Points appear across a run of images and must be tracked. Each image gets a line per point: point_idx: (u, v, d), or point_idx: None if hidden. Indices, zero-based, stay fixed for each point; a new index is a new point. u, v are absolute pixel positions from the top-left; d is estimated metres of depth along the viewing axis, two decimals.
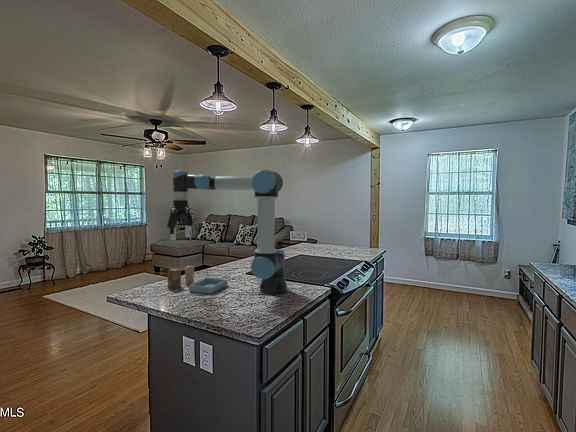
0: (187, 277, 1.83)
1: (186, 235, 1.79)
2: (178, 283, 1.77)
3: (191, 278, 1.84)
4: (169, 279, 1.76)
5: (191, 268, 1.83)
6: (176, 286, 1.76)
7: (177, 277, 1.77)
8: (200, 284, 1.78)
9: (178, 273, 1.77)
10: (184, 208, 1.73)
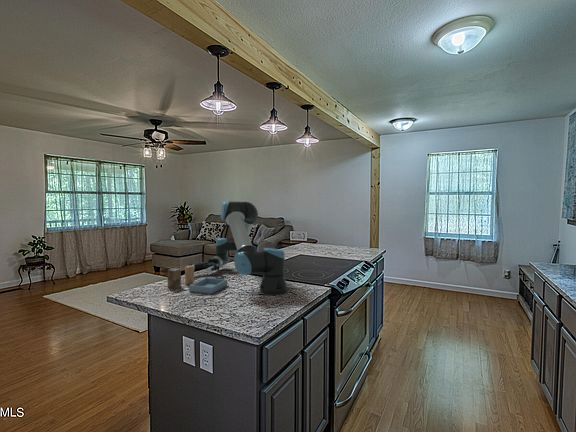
0: (187, 277, 1.83)
1: None
2: (178, 283, 1.77)
3: (191, 278, 1.84)
4: (169, 279, 1.76)
5: (191, 268, 1.83)
6: (176, 286, 1.76)
7: (177, 277, 1.77)
8: (200, 284, 1.78)
9: (178, 273, 1.77)
10: (214, 263, 2.10)
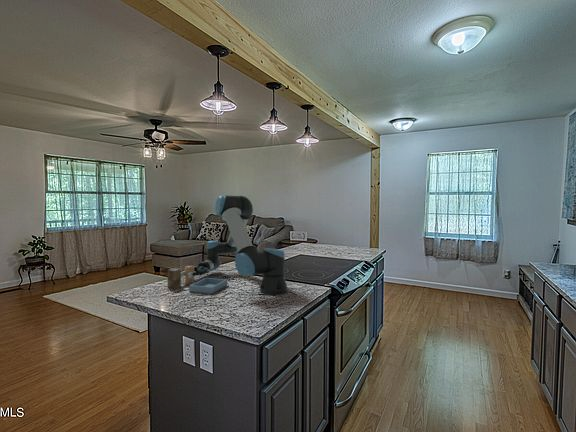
0: (187, 277, 1.83)
1: None
2: (178, 283, 1.77)
3: (191, 278, 1.84)
4: (169, 279, 1.76)
5: (191, 268, 1.83)
6: (176, 286, 1.76)
7: (177, 277, 1.77)
8: (200, 284, 1.78)
9: (178, 273, 1.77)
10: (205, 267, 1.98)
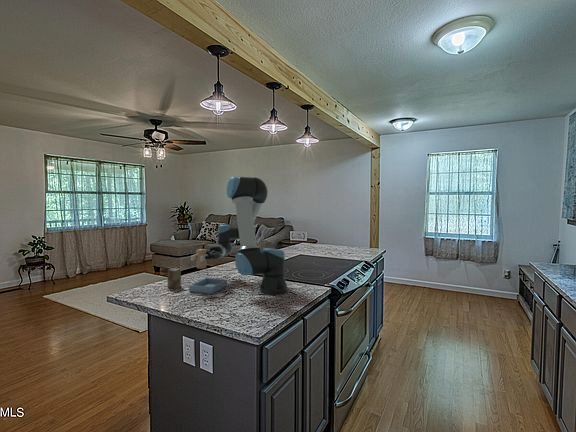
0: (199, 260, 1.72)
1: None
2: (178, 283, 1.77)
3: (203, 262, 1.72)
4: (169, 279, 1.76)
5: (203, 251, 1.72)
6: (176, 286, 1.76)
7: (177, 277, 1.77)
8: (200, 284, 1.78)
9: (178, 273, 1.77)
10: (217, 251, 1.86)
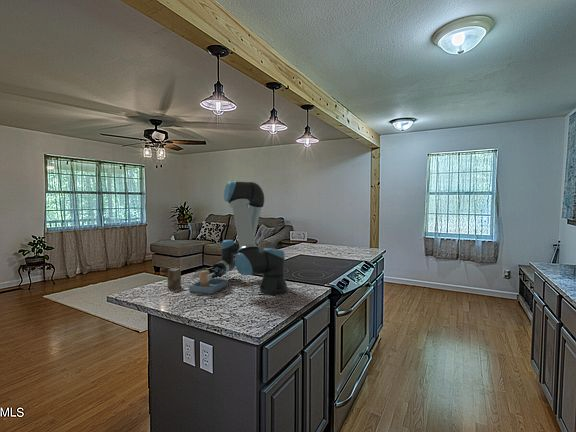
0: (202, 283, 1.69)
1: None
2: (178, 283, 1.77)
3: (206, 284, 1.69)
4: (169, 279, 1.76)
5: (206, 273, 1.69)
6: (176, 286, 1.76)
7: (177, 277, 1.77)
8: None
9: (178, 273, 1.77)
10: (220, 268, 1.83)
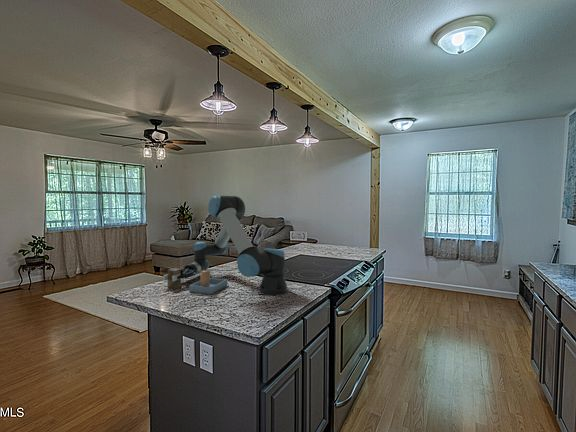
0: (203, 283, 1.69)
1: None
2: (178, 283, 1.77)
3: (207, 284, 1.70)
4: (169, 279, 1.76)
5: (208, 273, 1.70)
6: (176, 286, 1.76)
7: None
8: None
9: (178, 273, 1.77)
10: (191, 269, 1.90)
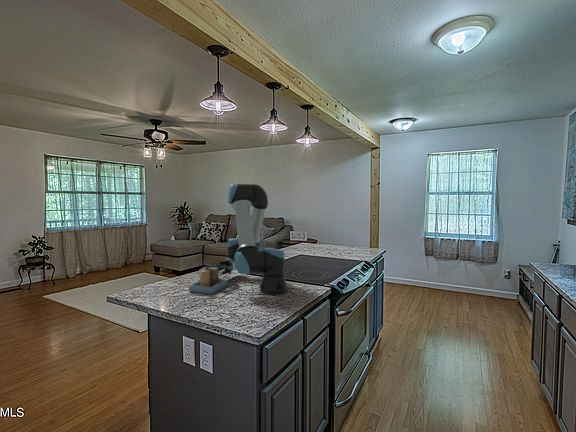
0: (204, 282, 1.69)
1: None
2: (216, 282, 1.79)
3: (208, 283, 1.70)
4: None
5: (208, 272, 1.70)
6: None
7: (216, 275, 1.78)
8: None
9: (217, 272, 1.79)
10: (226, 265, 1.91)
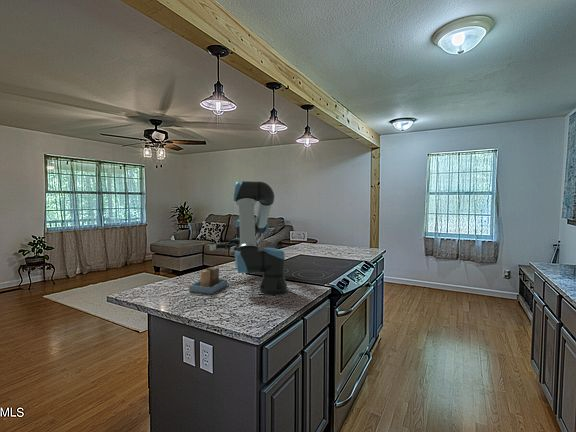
0: (204, 282, 1.69)
1: None
2: (216, 282, 1.79)
3: (208, 283, 1.70)
4: None
5: (209, 272, 1.70)
6: None
7: (216, 275, 1.78)
8: None
9: (217, 272, 1.79)
10: (235, 243, 2.03)
